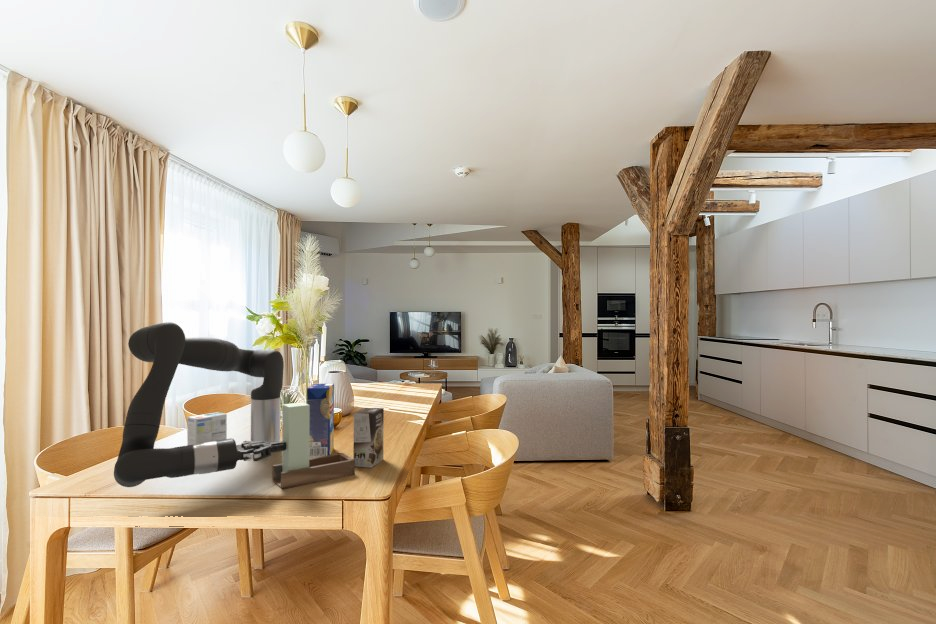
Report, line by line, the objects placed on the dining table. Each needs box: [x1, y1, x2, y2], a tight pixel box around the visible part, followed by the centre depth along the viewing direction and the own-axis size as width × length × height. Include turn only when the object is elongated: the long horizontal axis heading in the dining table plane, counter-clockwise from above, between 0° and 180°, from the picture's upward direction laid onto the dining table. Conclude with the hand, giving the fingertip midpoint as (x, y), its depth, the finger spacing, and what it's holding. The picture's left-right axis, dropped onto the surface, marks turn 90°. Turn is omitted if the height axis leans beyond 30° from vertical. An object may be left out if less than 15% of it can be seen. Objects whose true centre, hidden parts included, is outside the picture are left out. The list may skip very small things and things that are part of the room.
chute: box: [271, 452, 356, 490], centre depth 136 cm, size 9×20×4 cm, turn 127°
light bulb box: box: [186, 411, 228, 446], centre depth 168 cm, size 11×7×11 cm, turn 144°
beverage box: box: [306, 383, 335, 459], centre depth 159 cm, size 7×11×22 cm, turn 8°
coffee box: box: [352, 407, 385, 469], centre depth 149 cm, size 9×6×16 cm
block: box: [281, 402, 310, 472], centre depth 133 cm, size 6×6×20 cm
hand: (285, 445), depth 131 cm, fingers closed
